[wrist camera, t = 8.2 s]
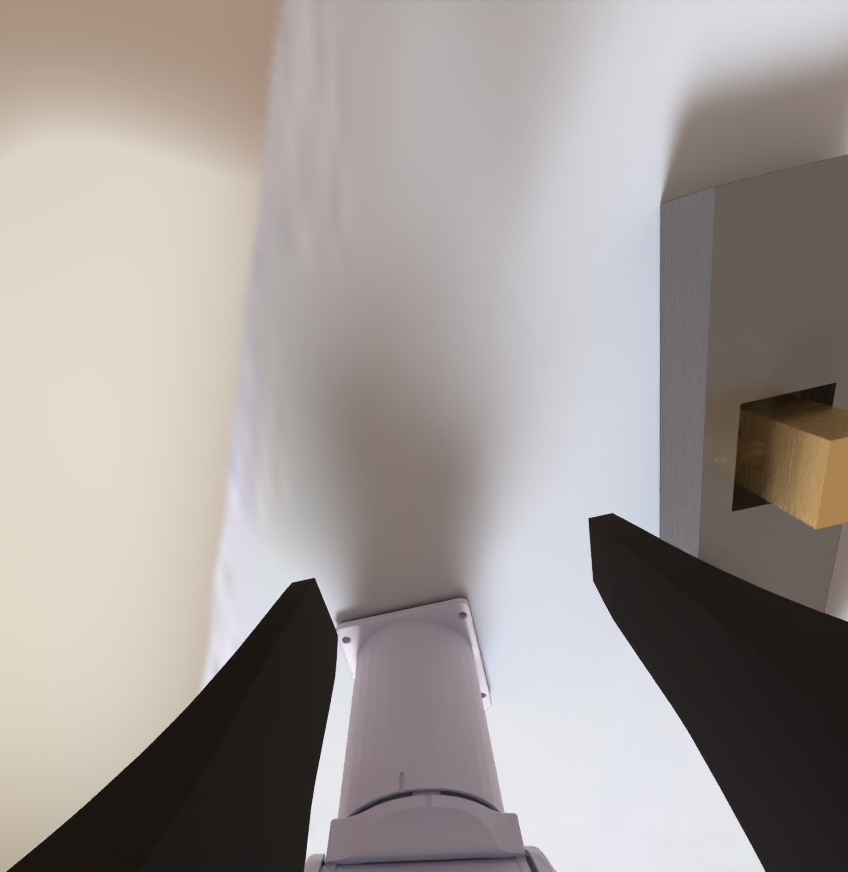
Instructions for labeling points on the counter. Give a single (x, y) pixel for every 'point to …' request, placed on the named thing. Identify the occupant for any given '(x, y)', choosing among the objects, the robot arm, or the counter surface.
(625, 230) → the counter surface
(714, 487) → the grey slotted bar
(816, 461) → the tan wooden block
